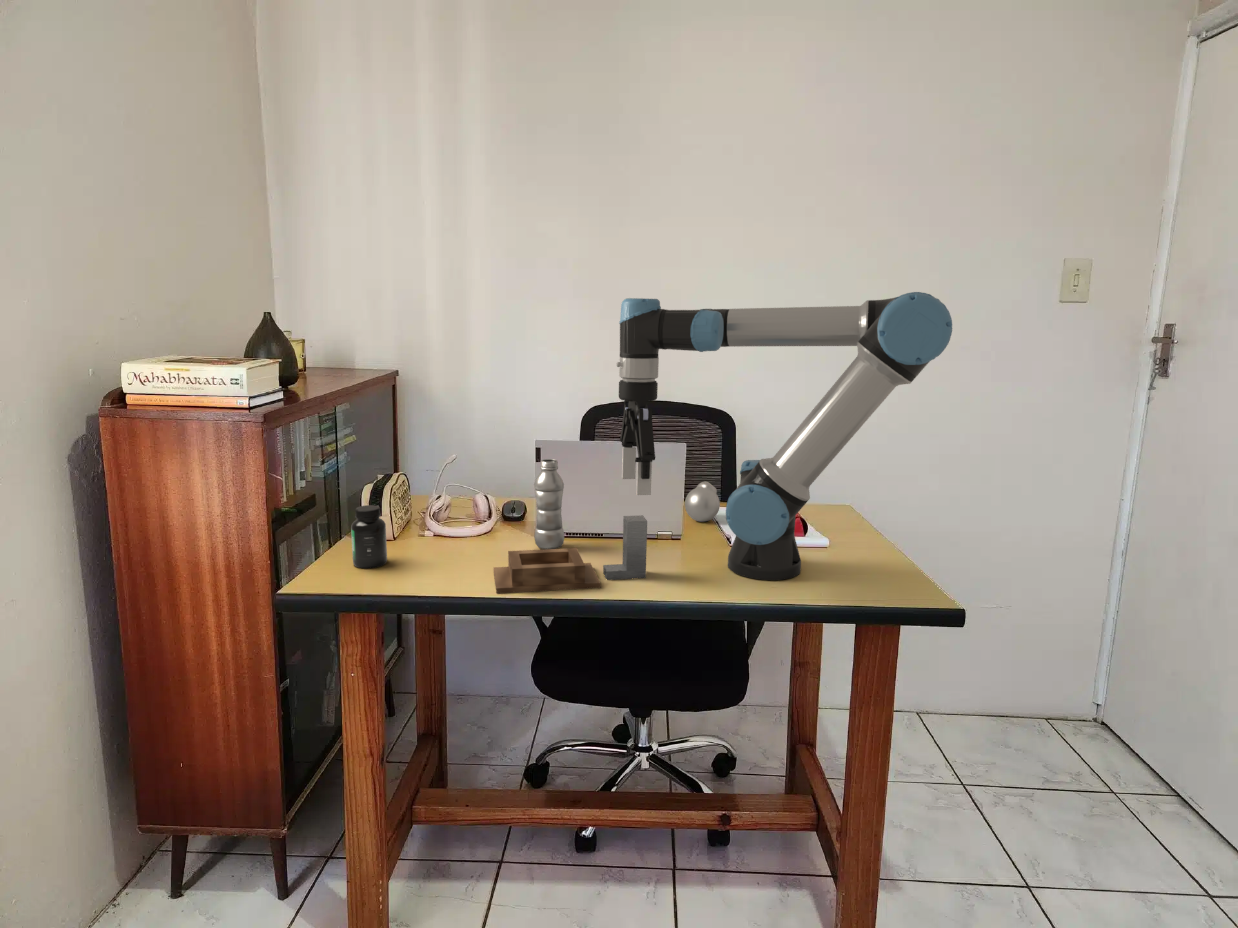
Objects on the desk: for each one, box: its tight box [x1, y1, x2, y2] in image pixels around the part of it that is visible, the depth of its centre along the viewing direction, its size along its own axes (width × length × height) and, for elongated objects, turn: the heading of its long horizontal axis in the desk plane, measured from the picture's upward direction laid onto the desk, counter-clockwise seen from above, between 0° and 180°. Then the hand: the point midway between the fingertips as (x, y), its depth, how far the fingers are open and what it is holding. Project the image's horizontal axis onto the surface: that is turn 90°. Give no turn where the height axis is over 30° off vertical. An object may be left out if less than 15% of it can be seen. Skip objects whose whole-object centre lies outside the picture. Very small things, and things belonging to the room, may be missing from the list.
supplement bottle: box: [350, 504, 388, 570], centre depth 165 cm, size 7×7×12 cm
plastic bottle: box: [533, 458, 565, 550], centre depth 176 cm, size 6×7×20 cm
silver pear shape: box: [684, 480, 721, 523], centre depth 202 cm, size 9×10×10 cm
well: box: [492, 547, 601, 594], centre depth 158 cm, size 20×12×4 cm, turn 101°
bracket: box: [602, 514, 648, 581], centre depth 161 cm, size 8×4×12 cm, turn 101°
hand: (635, 486), depth 158 cm, fingers open, 13 cm apart
